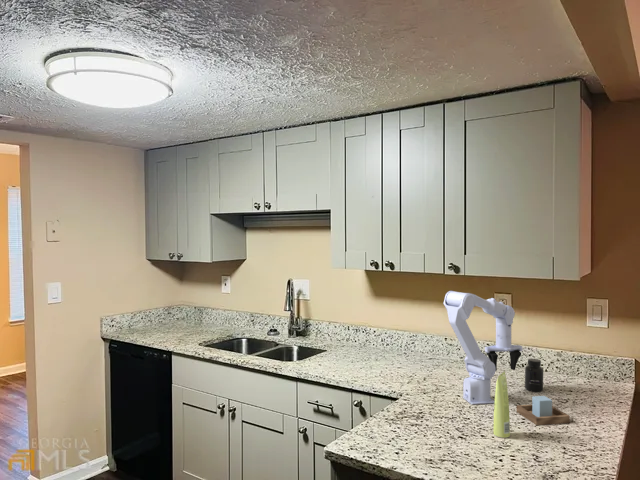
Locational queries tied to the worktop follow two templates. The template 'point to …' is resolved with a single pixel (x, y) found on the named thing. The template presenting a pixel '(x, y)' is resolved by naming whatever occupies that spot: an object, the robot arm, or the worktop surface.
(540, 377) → the supplement bottle
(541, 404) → the block
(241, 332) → the worktop surface
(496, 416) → the tube
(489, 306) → the robot arm
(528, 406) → the tray
